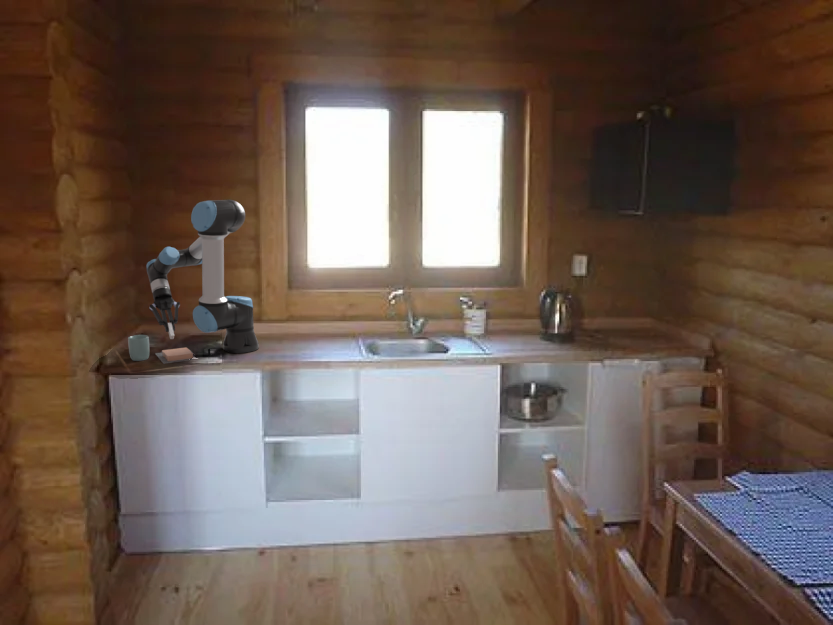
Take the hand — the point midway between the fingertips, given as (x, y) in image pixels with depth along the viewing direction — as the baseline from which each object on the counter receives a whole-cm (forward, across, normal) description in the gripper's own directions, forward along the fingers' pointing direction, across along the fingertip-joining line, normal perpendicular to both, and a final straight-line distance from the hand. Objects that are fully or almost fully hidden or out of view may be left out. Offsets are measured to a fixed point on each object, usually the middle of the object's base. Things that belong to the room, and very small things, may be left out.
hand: (172, 337), depth 314 cm
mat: (+10, 0, 0) cm, 10 cm away
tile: (+6, 0, -1) cm, 6 cm away
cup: (+8, +14, -2) cm, 17 cm away
